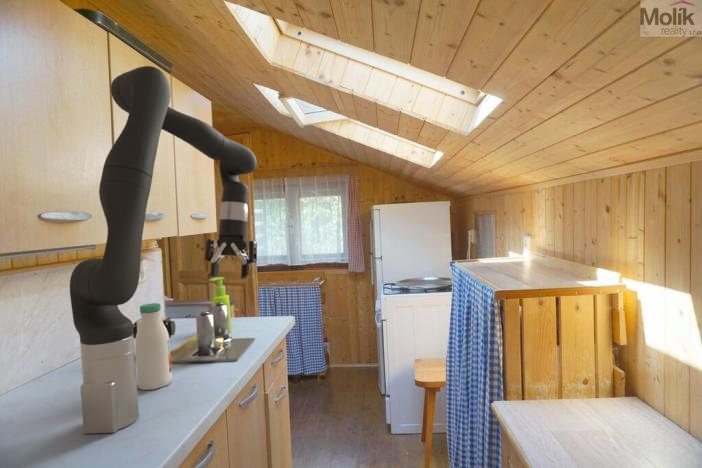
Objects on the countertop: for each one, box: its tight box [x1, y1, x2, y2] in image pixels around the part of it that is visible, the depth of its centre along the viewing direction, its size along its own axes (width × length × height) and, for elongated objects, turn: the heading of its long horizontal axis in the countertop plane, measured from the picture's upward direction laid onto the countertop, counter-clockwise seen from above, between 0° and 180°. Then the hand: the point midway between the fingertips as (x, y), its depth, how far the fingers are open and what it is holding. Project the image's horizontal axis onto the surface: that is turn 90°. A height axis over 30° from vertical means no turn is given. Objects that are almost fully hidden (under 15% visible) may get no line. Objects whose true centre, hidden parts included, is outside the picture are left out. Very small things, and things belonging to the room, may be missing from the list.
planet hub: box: [195, 310, 216, 356], centre depth 120 cm, size 5×5×13 cm
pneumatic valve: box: [132, 316, 176, 340], centre depth 126 cm, size 6×12×12 cm, turn 97°
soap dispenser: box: [208, 276, 232, 334], centre depth 148 cm, size 6×7×20 cm
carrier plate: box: [170, 302, 256, 364], centre depth 127 cm, size 21×20×14 cm
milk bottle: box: [134, 302, 173, 391], centre depth 102 cm, size 8×8×20 cm
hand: (229, 277), depth 114 cm, fingers open, 8 cm apart
